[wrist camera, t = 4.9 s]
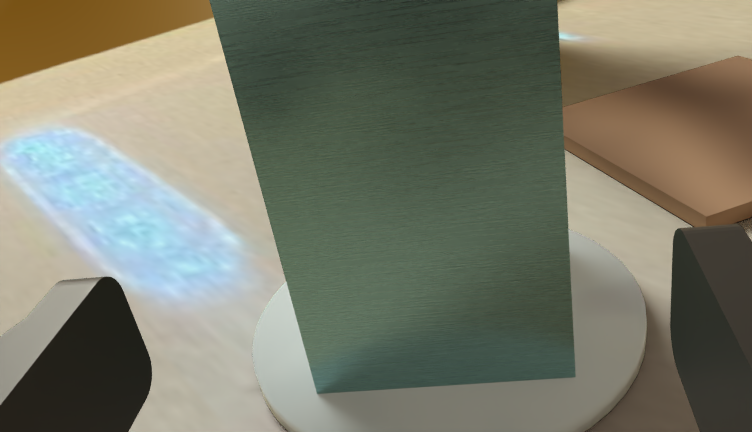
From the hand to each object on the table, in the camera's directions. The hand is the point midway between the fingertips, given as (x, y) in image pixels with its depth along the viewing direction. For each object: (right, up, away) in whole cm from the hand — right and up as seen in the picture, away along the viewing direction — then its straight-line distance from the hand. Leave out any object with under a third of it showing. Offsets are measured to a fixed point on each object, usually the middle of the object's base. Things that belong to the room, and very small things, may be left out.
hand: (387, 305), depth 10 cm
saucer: (+2, -2, +10) cm, 11 cm away
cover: (+2, -1, +10) cm, 10 cm away
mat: (+14, +5, +18) cm, 23 cm away
